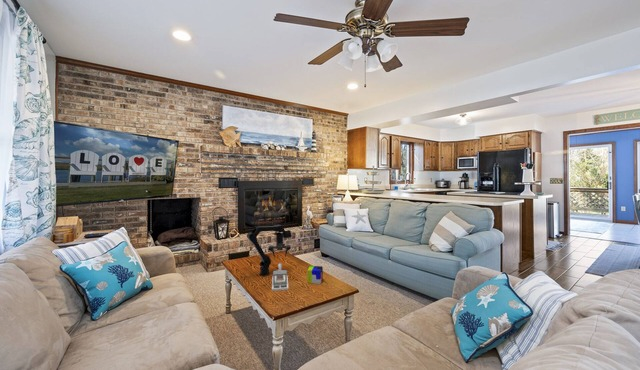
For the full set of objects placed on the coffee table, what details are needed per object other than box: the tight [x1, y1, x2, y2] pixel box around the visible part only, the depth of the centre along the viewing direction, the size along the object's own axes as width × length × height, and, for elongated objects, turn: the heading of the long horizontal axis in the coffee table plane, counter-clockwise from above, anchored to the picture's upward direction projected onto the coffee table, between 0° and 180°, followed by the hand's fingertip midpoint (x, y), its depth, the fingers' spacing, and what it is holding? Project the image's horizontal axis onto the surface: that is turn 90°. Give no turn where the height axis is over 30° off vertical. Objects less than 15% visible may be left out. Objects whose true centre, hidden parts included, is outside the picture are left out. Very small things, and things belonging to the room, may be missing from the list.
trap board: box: [271, 275, 289, 292], centre depth 206 cm, size 24×12×2 cm, turn 9°
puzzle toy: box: [307, 265, 324, 285], centre depth 210 cm, size 10×10×10 cm
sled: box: [276, 263, 284, 280], centre depth 215 cm, size 16×6×8 cm, turn 9°
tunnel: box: [272, 269, 288, 286], centre depth 202 cm, size 7×10×8 cm
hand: (279, 257), depth 232 cm, fingers open, 9 cm apart
